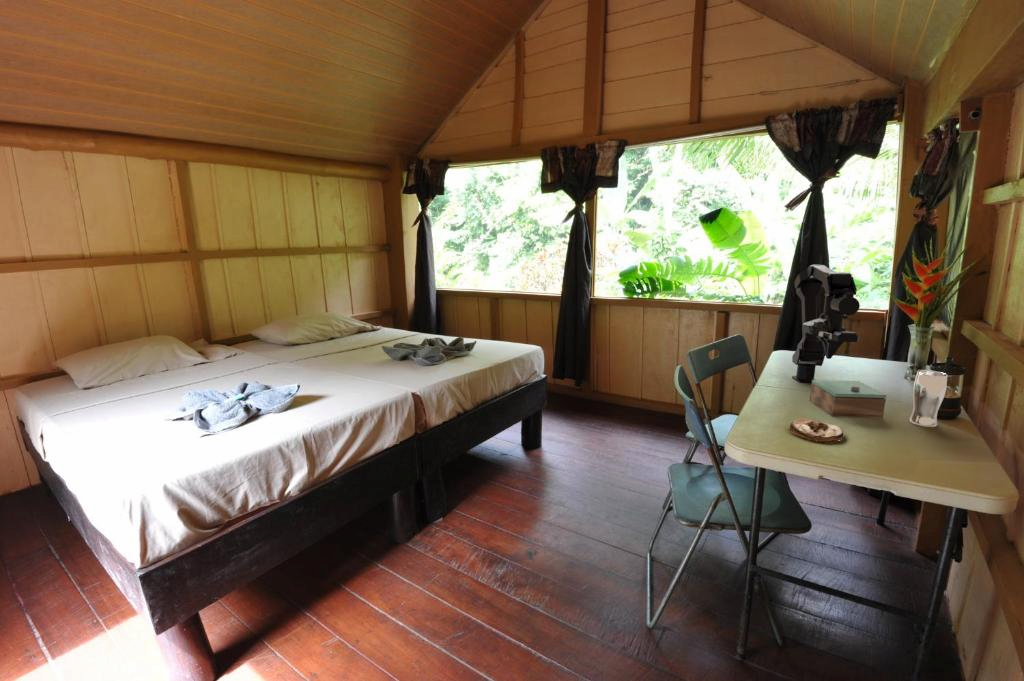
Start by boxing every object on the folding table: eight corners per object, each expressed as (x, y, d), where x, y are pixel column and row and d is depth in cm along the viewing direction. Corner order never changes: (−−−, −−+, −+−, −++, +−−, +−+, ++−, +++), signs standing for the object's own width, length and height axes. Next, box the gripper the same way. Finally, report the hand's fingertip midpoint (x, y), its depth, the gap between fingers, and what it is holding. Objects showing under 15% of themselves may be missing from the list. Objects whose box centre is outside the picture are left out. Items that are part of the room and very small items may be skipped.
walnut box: (809, 400, 159) (811, 383, 158) (855, 402, 158) (857, 384, 157) (832, 416, 146) (835, 397, 144) (882, 418, 144) (885, 399, 143)
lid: (811, 382, 158) (812, 376, 157) (857, 383, 156) (858, 377, 156) (835, 396, 144) (836, 389, 144) (886, 398, 143) (887, 390, 142)
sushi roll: (800, 420, 144) (802, 406, 143) (857, 437, 132) (860, 423, 131) (773, 431, 136) (775, 417, 135) (832, 451, 124) (834, 436, 123)
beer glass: (944, 428, 136) (954, 377, 133) (916, 427, 138) (925, 376, 134) (929, 419, 143) (938, 370, 140) (902, 417, 144) (910, 369, 141)
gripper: (793, 308, 168) (789, 352, 171) (825, 315, 149) (819, 365, 152) (827, 308, 167) (821, 352, 170) (862, 315, 149) (856, 365, 152)
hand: (828, 358), depth 161 cm, fingers closed
